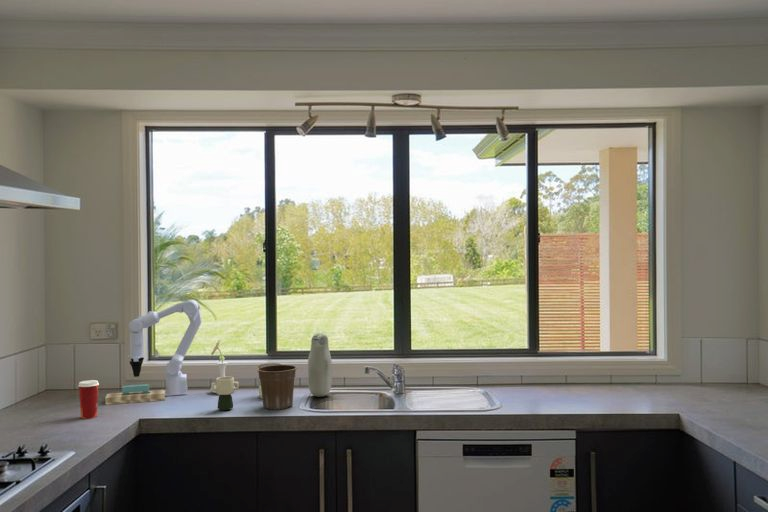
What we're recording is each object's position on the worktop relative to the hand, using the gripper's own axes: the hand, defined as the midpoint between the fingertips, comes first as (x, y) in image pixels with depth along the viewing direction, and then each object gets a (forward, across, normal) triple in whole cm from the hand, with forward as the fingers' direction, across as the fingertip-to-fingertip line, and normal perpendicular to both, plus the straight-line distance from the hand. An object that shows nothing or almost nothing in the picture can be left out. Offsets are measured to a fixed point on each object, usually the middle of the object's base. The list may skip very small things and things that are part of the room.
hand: (137, 375), depth 294 cm
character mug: (+10, +43, +36) cm, 57 cm away
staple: (+9, +10, 0) cm, 14 cm away
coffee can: (+10, +24, +57) cm, 63 cm away
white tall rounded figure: (+10, +32, +78) cm, 85 cm away
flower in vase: (+10, +8, +37) cm, 39 cm away
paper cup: (+10, +36, -16) cm, 41 cm away
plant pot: (+10, +45, +57) cm, 73 cm away
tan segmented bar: (+9, +10, 0) cm, 14 cm away
